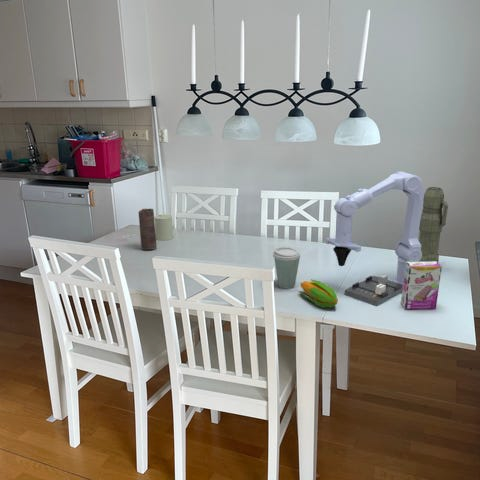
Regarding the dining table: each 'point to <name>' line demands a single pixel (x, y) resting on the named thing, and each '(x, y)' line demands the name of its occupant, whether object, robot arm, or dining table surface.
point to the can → (163, 227)
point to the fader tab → (380, 289)
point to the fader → (383, 279)
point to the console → (373, 291)
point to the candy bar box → (420, 285)
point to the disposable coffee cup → (286, 266)
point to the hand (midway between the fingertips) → (341, 265)
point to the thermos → (432, 223)
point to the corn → (319, 293)
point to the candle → (147, 229)
